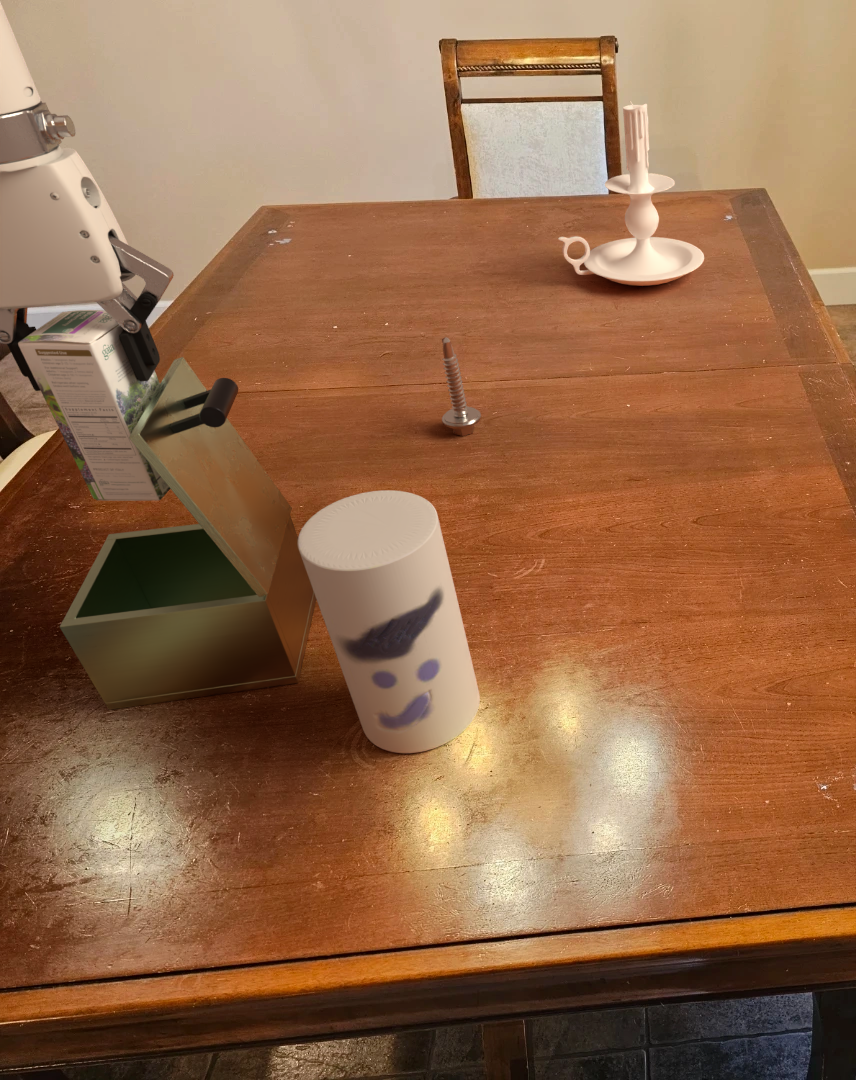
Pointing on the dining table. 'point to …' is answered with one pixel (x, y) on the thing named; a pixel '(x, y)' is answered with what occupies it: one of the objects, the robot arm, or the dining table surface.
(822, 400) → the dining table surface
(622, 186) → the candlestick
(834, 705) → the dining table surface
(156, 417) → the lid
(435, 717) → the container
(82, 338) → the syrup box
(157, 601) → the bin
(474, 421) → the screw
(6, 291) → the robot arm
